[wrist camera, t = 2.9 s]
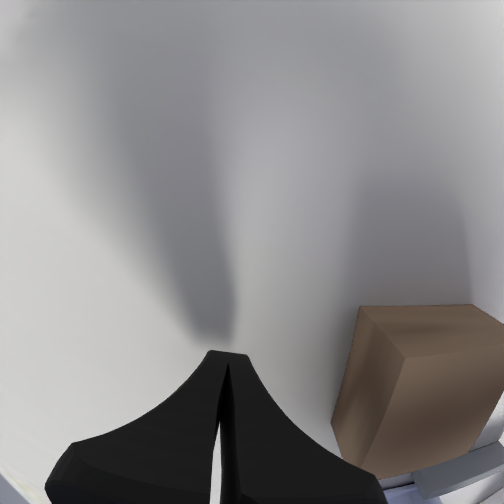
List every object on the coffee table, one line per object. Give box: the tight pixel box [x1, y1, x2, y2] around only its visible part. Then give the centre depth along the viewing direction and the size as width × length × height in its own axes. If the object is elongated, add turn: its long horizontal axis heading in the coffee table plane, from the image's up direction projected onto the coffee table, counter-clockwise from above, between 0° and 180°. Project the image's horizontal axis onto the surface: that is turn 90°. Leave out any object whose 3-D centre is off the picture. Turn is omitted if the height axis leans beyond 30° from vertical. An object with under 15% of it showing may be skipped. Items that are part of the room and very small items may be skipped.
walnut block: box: [331, 304, 504, 480], centre depth 10 cm, size 6×6×4 cm
